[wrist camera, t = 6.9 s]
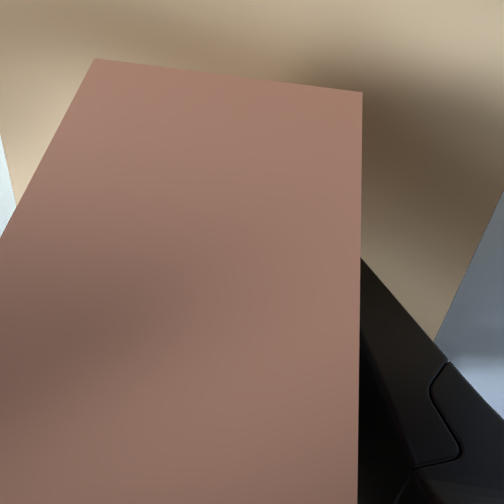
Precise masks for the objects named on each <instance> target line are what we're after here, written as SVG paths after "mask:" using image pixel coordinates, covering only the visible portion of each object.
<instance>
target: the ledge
mask: <svg viewBox="0 0 504 504" xmlns="http://www.w3.org/2000/svg"><path fill="white" fill-rule="evenodd" d="M94 58H98V59H106V60H114V61H121V62H129V63H137V64H145V65H153V66H161V67H168V68H176V69H184V70H192V71H200V72H208V73H215V74H223V75H231V76H239V77H247V78H255V79H263V80H270V81H278V82H286V83H294V84H302V85H310V86H317V87H325V88H333V89H341V90H349V91H357V92H363V96H362V174H361V252H360V257H361V258H362V259H363V260H364V261H365V262H366V264H367V265H368V266H369V267H370V268H371V269H372V271H373V272H374V273H375V274H376V275H377V276H378V278H379V279H380V280H381V281H382V282H383V283H384V285H385V286H386V287H387V288H388V289H389V290H390V292H391V293H392V294H393V295H394V296H395V297H396V299H397V300H398V301H399V302H400V303H401V305H402V306H403V307H404V308H405V309H406V310H407V312H408V313H409V314H410V315H411V316H412V317H413V319H414V320H415V321H416V322H417V323H418V324H419V326H420V327H421V328H422V329H423V330H424V331H425V333H426V334H427V335H428V336H429V337H430V338H431V340H432V341H433V342H434V340H435V338H436V335H437V333H438V331H439V329H440V327H441V325H442V322H443V320H444V318H445V316H446V314H447V312H448V309H449V307H450V305H451V303H452V301H453V299H454V296H455V294H456V292H457V290H458V288H459V286H460V283H461V281H462V279H463V277H464V275H465V273H466V270H467V268H468V266H469V264H470V262H471V260H472V258H473V255H474V253H475V251H476V249H477V247H478V245H479V242H480V240H481V238H482V236H483V234H484V232H485V229H486V227H487V225H488V223H489V221H490V219H491V216H492V214H493V212H494V210H495V208H496V206H497V203H498V201H499V199H500V197H501V195H502V193H503V190H504V0H0V135H1V139H2V144H3V148H4V153H5V157H6V161H7V166H8V170H9V175H10V179H11V184H12V188H13V193H14V197H15V201H16V206H17V205H18V203H19V201H20V199H21V197H22V196H23V194H24V192H25V190H26V188H27V186H28V184H29V182H30V180H31V178H32V176H33V175H34V173H35V171H36V169H37V167H38V165H39V163H40V161H41V159H42V157H43V155H44V154H45V152H46V150H47V148H48V146H49V144H50V142H51V140H52V138H53V136H54V134H55V133H56V131H57V129H58V127H59V125H60V123H61V121H62V119H63V117H64V115H65V113H66V112H67V110H68V108H69V106H70V104H71V102H72V100H73V98H74V96H75V94H76V92H77V91H78V89H79V87H80V85H81V83H82V81H83V79H84V77H85V75H86V73H87V71H88V69H89V68H90V66H91V64H92V62H93V60H94Z"/></svg>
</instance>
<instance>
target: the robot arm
mask: <svg viewBox="0 0 504 504" xmlns="http://www.w3.org/2000/svg"><path fill="white" fill-rule="evenodd" d="M357 504H504V419H503V418H502V417H501V416H500V415H499V414H498V413H497V412H496V411H495V410H494V409H493V408H492V407H491V406H490V405H489V404H488V403H487V402H486V401H485V400H484V399H483V398H482V397H481V396H480V394H479V393H478V392H477V391H476V390H475V389H474V388H473V387H472V386H471V384H470V383H469V382H468V381H467V380H466V379H465V378H464V377H463V376H462V374H461V373H460V372H459V371H458V370H457V369H456V367H455V366H454V365H453V364H452V363H451V362H448V358H447V357H446V356H445V355H444V354H443V352H442V351H441V350H440V349H439V348H438V347H437V345H436V344H435V343H434V342H433V341H432V340H431V338H430V337H429V336H428V335H427V334H426V333H425V331H424V330H423V329H422V328H421V327H420V326H419V324H418V323H417V322H416V321H415V320H414V319H413V317H412V316H411V315H410V314H409V313H408V312H407V310H406V309H405V308H404V307H403V306H402V305H401V303H400V302H399V301H398V300H397V299H396V297H395V296H394V295H393V294H392V293H391V292H390V290H389V289H388V288H387V287H386V286H385V285H384V283H383V282H382V281H381V280H380V279H379V278H378V276H377V275H376V274H375V273H374V272H373V271H372V269H371V268H370V267H369V266H368V265H367V264H366V262H365V261H364V260H363V259H362V258H361V257H360V330H359V407H358V485H357Z"/></svg>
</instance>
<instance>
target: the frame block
mask: <svg viewBox="0 0 504 504" xmlns="http://www.w3.org/2000/svg"><path fill="white" fill-rule="evenodd" d="M362 96H363V92H357V91H349V90H341V89H333V88H325V87H317V86H310V85H302V84H294V83H286V82H278V81H270V80H263V79H255V78H247V77H239V76H231V75H223V74H215V73H208V72H200V71H192V70H184V69H176V68H168V67H161V66H153V65H145V64H137V63H129V62H121V61H114V60H106V59H98V58H94V60H93V62H92V64H91V66H90V68H89V69H88V71H87V73H86V75H85V77H84V79H83V81H82V83H81V85H80V87H79V89H78V91H77V92H76V94H75V96H74V98H73V100H72V102H71V104H70V106H69V108H68V110H67V112H66V113H65V115H64V117H63V119H62V121H61V123H60V125H59V127H58V129H57V131H56V133H55V134H54V136H53V138H52V140H51V142H50V144H49V146H48V148H47V150H46V152H45V154H44V155H43V157H42V159H41V161H40V163H39V165H38V167H37V169H36V171H35V173H34V175H33V176H32V178H31V180H30V182H29V184H28V186H27V188H26V190H25V192H24V194H23V196H22V197H21V199H20V201H19V203H18V205H17V207H16V209H15V211H14V213H13V215H12V217H11V218H10V220H9V222H8V224H7V226H6V228H5V230H4V232H3V234H2V236H1V238H0V504H357V485H358V407H359V330H360V252H361V174H362Z"/></svg>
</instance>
